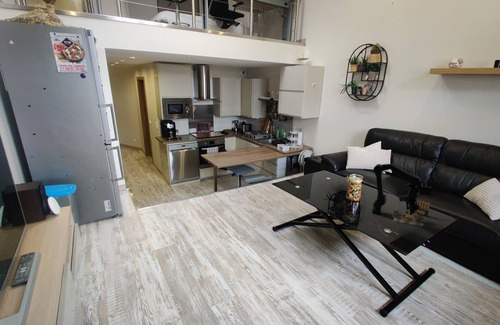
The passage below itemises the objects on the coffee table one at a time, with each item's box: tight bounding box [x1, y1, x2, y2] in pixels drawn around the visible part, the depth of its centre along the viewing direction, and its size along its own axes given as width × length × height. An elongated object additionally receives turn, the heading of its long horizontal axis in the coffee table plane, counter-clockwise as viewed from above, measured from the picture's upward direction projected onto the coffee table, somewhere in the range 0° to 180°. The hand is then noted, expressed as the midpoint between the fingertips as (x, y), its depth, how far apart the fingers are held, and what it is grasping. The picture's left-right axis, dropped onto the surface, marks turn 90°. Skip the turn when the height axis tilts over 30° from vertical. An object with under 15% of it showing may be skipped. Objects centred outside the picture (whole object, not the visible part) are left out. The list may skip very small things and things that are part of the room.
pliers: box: [369, 221, 399, 238], centre depth 169 cm, size 10×1×20 cm
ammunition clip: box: [413, 199, 430, 218], centre depth 191 cm, size 11×2×12 cm, turn 42°
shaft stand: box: [391, 210, 424, 227], centre depth 182 cm, size 18×10×6 cm, turn 70°
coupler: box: [402, 210, 414, 220], centre depth 181 cm, size 5×6×5 cm
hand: (408, 212), depth 180 cm, fingers open, 9 cm apart
